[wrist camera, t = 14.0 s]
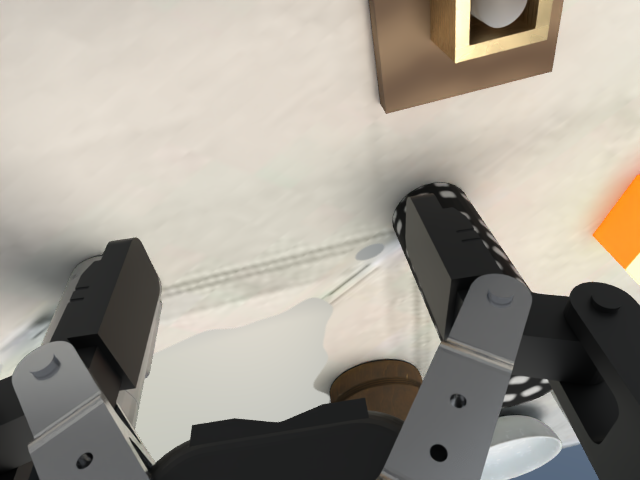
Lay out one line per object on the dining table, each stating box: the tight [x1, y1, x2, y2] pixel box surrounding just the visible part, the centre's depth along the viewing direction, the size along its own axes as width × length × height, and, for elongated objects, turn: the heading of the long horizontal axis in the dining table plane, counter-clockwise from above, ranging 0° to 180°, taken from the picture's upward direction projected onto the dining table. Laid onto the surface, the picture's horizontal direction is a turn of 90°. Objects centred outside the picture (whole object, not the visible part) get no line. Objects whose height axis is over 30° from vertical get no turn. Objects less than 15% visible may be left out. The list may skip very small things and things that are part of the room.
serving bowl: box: [480, 415, 562, 480], centre depth 83 cm, size 21×21×7 cm
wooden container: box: [330, 360, 423, 421], centre depth 60 cm, size 15×15×22 cm
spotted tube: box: [393, 183, 552, 408], centre depth 39 cm, size 8×8×20 cm
